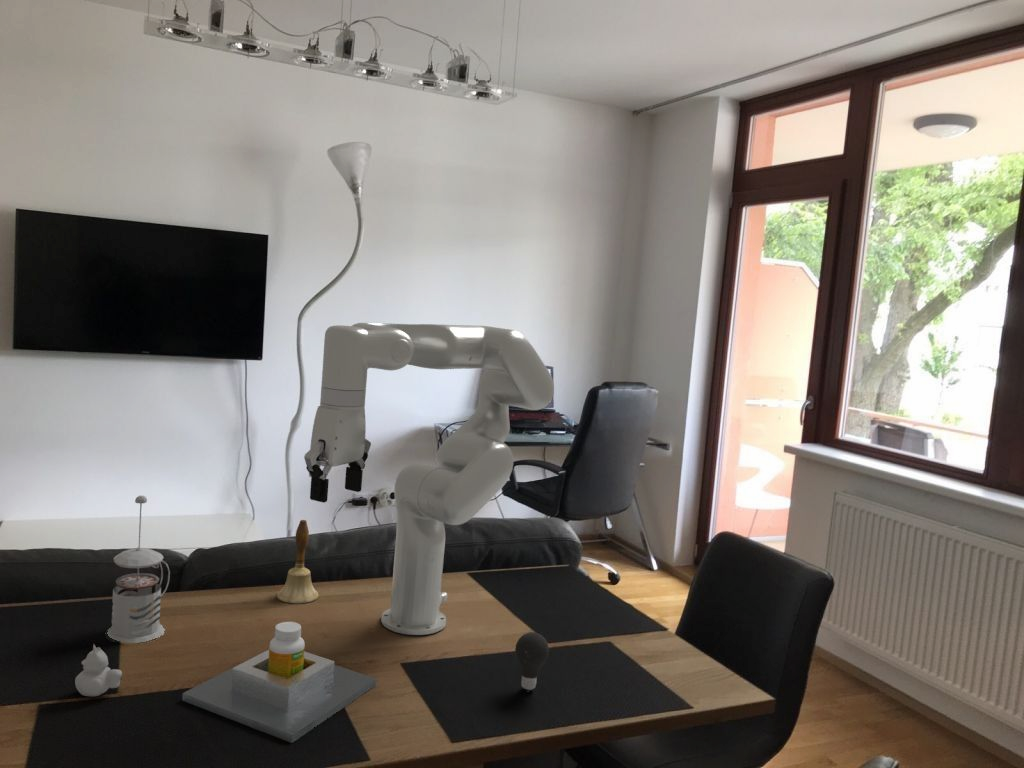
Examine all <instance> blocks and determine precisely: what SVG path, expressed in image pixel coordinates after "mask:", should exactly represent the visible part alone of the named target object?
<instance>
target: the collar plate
mask: <svg viewBox="0 0 1024 768" xmlns="http://www.w3.org/2000/svg"><path fill="white" fill-rule="evenodd" d="M268 663H269V648H268V649H266V650H264V651H263V652H261V653H259V654H257V655H255V656H252V657H251V658H248V659H247V660H245V661H243V662H241V663H239V664H236V665H235V666H233V667H231V668H229V669H227V670H225V671H223V672H222V673H220V674H218V675H216V676H214V677H213V676H212V677H211V678H209V679H207V680H206V681H204V682H203V683H200V684H198V685H196V686H194V687H192V688H189V689H188V690H186V691H184V692H183V693H182V702H184V703H187V704H190V705H193V706H195V707H198V708H201V709H202V710H203V709H204V710H205V711H208V712H210V713H213V714H216V715H219V716H222V717H224V718H226V719H229V720H231V721H233V722H237V723H239V724H242V725H244V726H247V727H249V728H252V729H255V730H258V731H259V732H262V733H265V734H268V735H270V736H272V737H275V738H278V739H281V740H283V741H286V742H288V743H291V744H292V743H294V742H296V741H297V740H299V739H300V738H301V737H303V736H304V735H306V734H307V733H309V732H310V731H312V730H313V729H315V728H316V727H318V726H319V725H321V724H322V723H323V722H325V721H326V720H327V718H328V719H330V718H331V717H332V716H334V715H335V714H337V713H338V712H340V711H341V710H342V709H344V708H345V707H347V706H348V705H350V704H351V703H352V701H353V702H354V701H356V700H357V699H359V698H361V696H363V695H364V694H366V693H367V692H369V691H370V690H372V689H373V688H375V687H376V686H377V678H376V677H372V676H369V675H366V674H363V673H360V672H358V671H354V670H351V669H348V668H345V667H343V666H339V665H336V664H335V661H334V660H331V659H329V658H325V657H323V656H319V655H317V654H313V653H310V652H308V651H305V650H304V665H303V671H301V672H299V673H298V674H296V675H294V676H292V677H291V678H289V679H286V678H283V677H280V676H277V675H274V674H271V673H268ZM374 686H375V687H374ZM371 688H372V689H371ZM368 690H369V691H368ZM365 692H366V693H365ZM355 699H356V700H355ZM350 702H351V703H350ZM349 703H350V704H349ZM336 712H337V713H336ZM333 714H334V715H333ZM317 725H318V726H317ZM314 727H315V728H314Z"/></svg>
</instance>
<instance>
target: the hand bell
mask: <svg viewBox="0 0 1024 768" xmlns="http://www.w3.org/2000/svg"><path fill="white" fill-rule="evenodd" d="M295 531H296V532H295V545H296V558H295V565H294V567H292V568H290V569H289V570H288V572H287V577H286V581H285V584H284V586H283V587H282V589H280V590H279V591H278V592H277V594H276V597H277V599H278V600H280V601H281V602H284V603H290V604H305V603H306V604H307V603H311V602H313V601H316V600H317V599H318V598H319V592H318V591H317V590H316V589H315V588H314V586H313V583H312V576H311V571H310V569H308V568H306V566H305V553H306V548H307V545H308V542H309V538H310V536H309V535H310V533H309V532H310V531H309V527H308V523H307V520H306V519H300V521H299V524H298V526H297V529H296V530H295Z"/></svg>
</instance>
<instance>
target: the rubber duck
mask: <svg viewBox="0 0 1024 768" xmlns="http://www.w3.org/2000/svg"><path fill="white" fill-rule="evenodd" d="M81 665H83V666H82V669H83V670H82V671H81V672H80V673H78V675H76V677H75V679H74V684H75V688H76V690H77V691H78V693H79V694H80V695H81V696H85V697H98V696H101V695H103V694H104V693H106V692H107V691H108V690H109V689H116V688H118V687H119V686H120V685H121V678H122V676H123V672H122V670H121V669H117V668H116V669H115V668H112V669H111V667H109V658H108V655H107V654H106V652H104V651H103V650H102V649H101V647H100V646H97V647H96V645H95V644H93V646H92V650H91V651H89V653H87V655H86V658H85V659H83V660H82V661H81Z"/></svg>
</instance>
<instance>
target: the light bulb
mask: <svg viewBox="0 0 1024 768" xmlns="http://www.w3.org/2000/svg"><path fill="white" fill-rule="evenodd" d="M514 653H515V657H516V659H517V662H518V664H519V666H520V673H521V682H520V684H521V687H522V688H523V689H524V690H525V689H526V690H531V691H532V690H534V689H535V688H536V687H537V686H536V685H537V678H538V676H539V673H540V670H541V669H542V667H543V666H544V664H545V662H546V661H547V659H548V657H549V653H550V647H549V644H548V641H547V639H546V638H545V637H544V636H543V635H542V634H540V633H539V632H534V631H533V632H531V631H530V632H526V633H524V634H522V635H521V636H520V637H519V638H518V640H517V642H516V644H515V652H514ZM526 690H525V691H526Z"/></svg>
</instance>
